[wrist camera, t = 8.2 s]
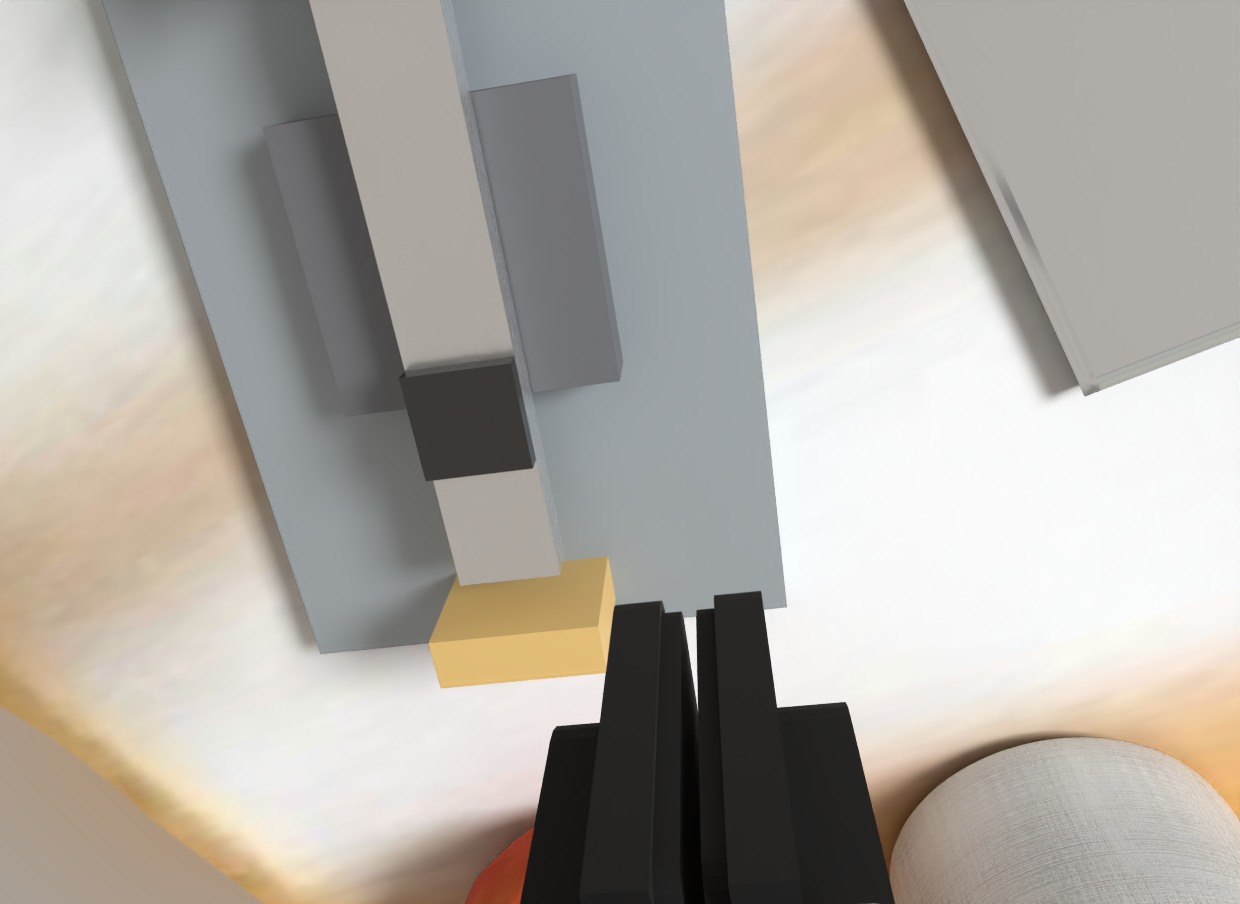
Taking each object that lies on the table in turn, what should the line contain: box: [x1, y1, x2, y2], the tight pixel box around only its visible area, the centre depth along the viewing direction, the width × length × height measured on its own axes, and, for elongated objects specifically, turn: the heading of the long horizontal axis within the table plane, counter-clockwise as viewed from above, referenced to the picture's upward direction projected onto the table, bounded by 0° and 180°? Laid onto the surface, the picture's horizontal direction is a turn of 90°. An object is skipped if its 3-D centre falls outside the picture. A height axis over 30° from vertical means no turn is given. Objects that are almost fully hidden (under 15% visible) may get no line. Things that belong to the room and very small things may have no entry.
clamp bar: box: [309, 0, 565, 586], centre depth 25 cm, size 19×4×2 cm, turn 9°
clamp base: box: [102, 0, 787, 688], centre depth 26 cm, size 25×16×6 cm, turn 9°
